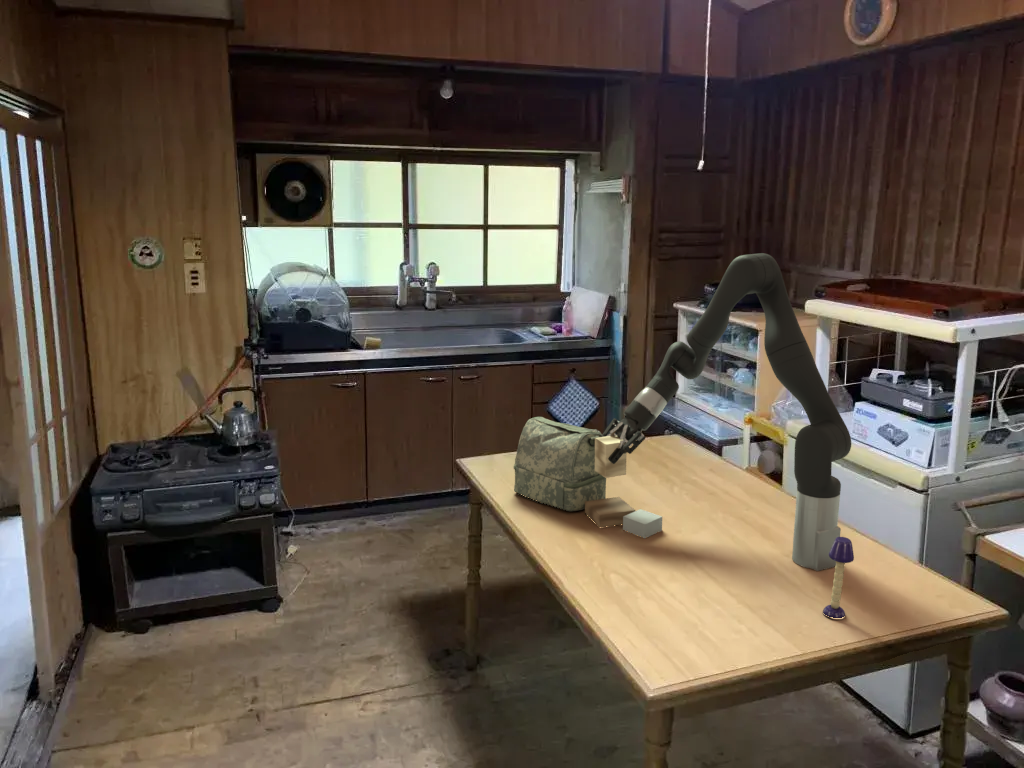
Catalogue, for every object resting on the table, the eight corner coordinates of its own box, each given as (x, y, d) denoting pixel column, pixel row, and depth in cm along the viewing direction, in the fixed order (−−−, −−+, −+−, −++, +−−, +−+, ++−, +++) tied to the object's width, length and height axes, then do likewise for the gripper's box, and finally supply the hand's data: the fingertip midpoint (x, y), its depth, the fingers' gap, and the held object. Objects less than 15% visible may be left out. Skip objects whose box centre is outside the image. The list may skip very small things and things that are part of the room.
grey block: (661, 531, 204) (662, 516, 203) (644, 539, 199) (645, 524, 198) (640, 523, 209) (640, 509, 208) (622, 531, 204) (623, 516, 203)
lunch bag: (618, 501, 223) (619, 426, 218) (572, 519, 211) (572, 440, 206) (552, 478, 242) (552, 408, 237) (507, 493, 230) (506, 420, 225)
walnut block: (635, 524, 208) (635, 510, 207) (599, 529, 205) (599, 515, 204) (619, 510, 218) (619, 496, 217) (584, 515, 215) (584, 501, 214)
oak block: (626, 474, 207) (626, 441, 205) (605, 478, 205) (605, 444, 202) (614, 467, 212) (615, 435, 210) (594, 470, 210) (594, 438, 208)
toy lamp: (842, 609, 164) (849, 533, 160) (852, 621, 160) (859, 543, 156) (819, 610, 164) (825, 534, 160) (828, 621, 159) (835, 544, 155)
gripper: (622, 393, 213) (582, 441, 212) (651, 406, 200) (609, 458, 199) (639, 410, 216) (600, 457, 215) (669, 424, 203) (627, 475, 202)
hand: (604, 457), depth 207 cm, fingers closed on oak block, 6 cm apart
